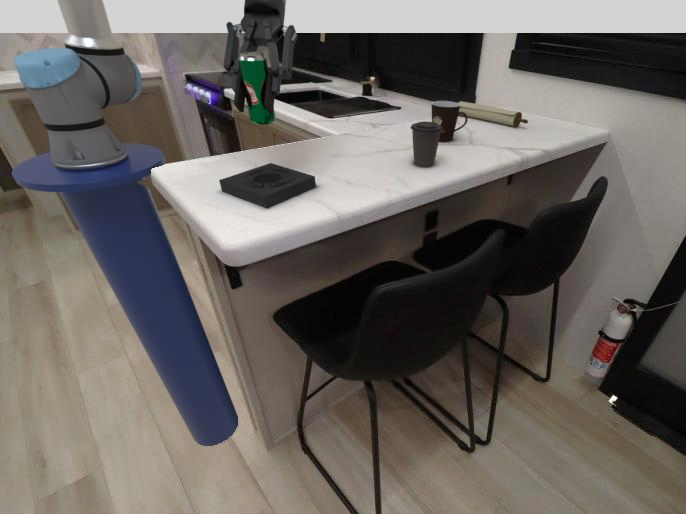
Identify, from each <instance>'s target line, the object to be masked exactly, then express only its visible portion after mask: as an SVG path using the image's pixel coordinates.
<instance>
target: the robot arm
mask: <svg viewBox="0 0 686 514" xmlns="http://www.w3.org/2000/svg"><path fill="white" fill-rule="evenodd" d="M57 2H58V6H59V9H60V12H61V15H62V19H63V21H64V24H65V27H66V29H67V30H66V31H67V32H68V33H67V35H66V36H65V38H64V40H63V45H64V47H50V48H49V47H48V48H44V49H34V50H29V51H25V52H22V53H20V54H18V55H17V56H16V57H15V58H14V60H13V65H14V67H15V70H16V72H17V74H18V76H19V81H20V83H21V84H22V85H23V87H24V89H25V91H26V93H27V95H28V97H29V99H30V101H31V102H32V104H33V106H34V108H35V109H36V112H37V113H38V115H39V118H40V120H41V122H42V123H43V125H44V127H45V129H46V132H47V134H48V141H49V151H50V152H51V157H52V160H53V163H54V165H55V167H56V168H57V169H59V170H63V171H71V172H81V171H93V170H99V169H105V168H109V167H113V166H116V165H119V164H121V163H123V162H125V161H126V160H127V159H128V155H127V152H126V150H125V149H124V147H123V146H122V145H121V143H122V142H120V141H119V140H118V138H117V136H116V135H115V134H114V133H113V131H112V130H111V129H110V128H109V127H108V125H107V123H106V121H105V119H104V116H103V113H102V111H101V110H104V109H107V108H111V107H114V106H118V105H119V106H121V105H125V104H127V103H129V102H131V101H133V100H135V99H136V98H138V96H139V95H140V94H141V92H142V89H143V88H142V87H143V78H142V74H141V71H140V69H139V67H138V65H137V64H136V62H134V61H133V59H132V58H131V56H129V55H128V54H127V53H125V52H126V51H125V49H124V45H123V44H122V43H121V42H120V41H119V40H117V38H115V37H114V35H113V31H112V28H111V25H110V20H109V17H108V14H107V10H106V8H105V3H104V0H57ZM286 6H287V0H244V5H243V17H242V18H241V20H240V23H237V24H233V22H231V21H228V22H226V26H225V27H226V30H227V39H226V44H225V45H226V46H225V51H224V58H223V68H224V70H225V71H226V73H227V75H228V76H229V77H230V78H232V81H231V90H232V91H233V93H234V98H233V105H234V106H235V108H236V109H237V110H238V112H239V113H244V112H245V105H246V98H245V92H244V87H243V82H242V77H241V72H240V67H239V62H238V58H239V53H240V52H258V49H259V47H267V52H268V57H269V63H270V71H271V73H269V72H268V74H267V83H266V92H265V101H264V106H265V108H266V109H267V111H268V113H269V114H273V108H274V109H275V98H276V97H279V96H280V94H281V87H282V86H281V85H282V84H281V83H282V82H283V80H286V81H290V80H291V79H292V75H293V62H294V51H295V44H296V42H297V41H298V38H299V37H298V34H297V31H296V28H295V26H294V25H293V24H290V25H288V26H286V25H284V23H285V16H286ZM242 33H244V35H243V42H242V44H241V46H240V40H241V39H242ZM282 36H283V46H282V58H281V66H280V59H279V54H278V45H277V42H278V41H279V40H280V39H281V38H282Z"/></svg>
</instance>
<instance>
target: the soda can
mask: <svg viewBox="0 0 686 514" xmlns="http://www.w3.org/2000/svg"><path fill="white" fill-rule="evenodd" d="M238 54H239V58H238V62H239V67H240V72H241V77H242V82H243V87H244V92H245V104H246V107H247V112H248V119H249V121H250V122H251V123H252V124H254V125H258V126H261V125H262V126H266V125H271V124H274V123H275V121H276V111H275V107H274V108H273V114H269V113H268V111H267V109H266V108H265V106H264V101H265V92H266V83H267V74H268V73H269V68H268V61H267V58H266V57H265V56H264V52H263V51H256V52H240V53H239V52H238Z"/></svg>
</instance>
